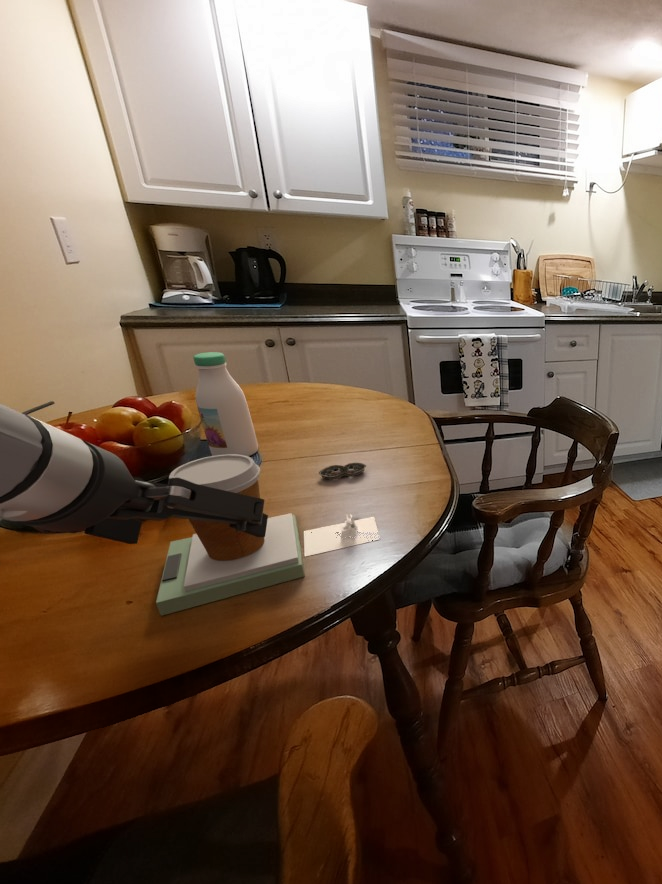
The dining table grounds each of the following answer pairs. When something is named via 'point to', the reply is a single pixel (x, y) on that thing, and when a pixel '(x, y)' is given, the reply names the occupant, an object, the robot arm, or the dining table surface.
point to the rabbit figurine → (327, 540)
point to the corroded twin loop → (342, 470)
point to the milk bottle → (223, 408)
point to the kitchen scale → (229, 568)
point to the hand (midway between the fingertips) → (201, 529)
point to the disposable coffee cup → (228, 476)
